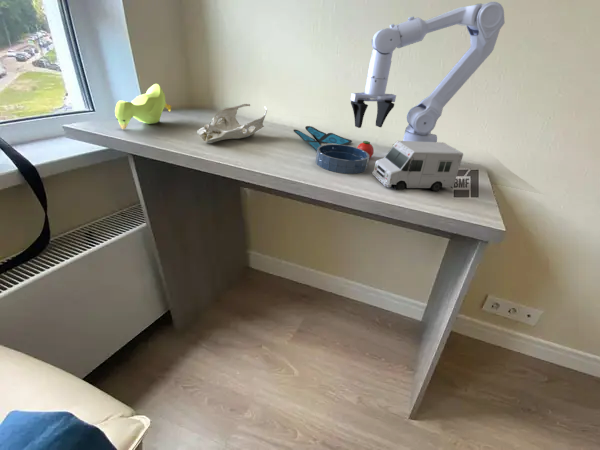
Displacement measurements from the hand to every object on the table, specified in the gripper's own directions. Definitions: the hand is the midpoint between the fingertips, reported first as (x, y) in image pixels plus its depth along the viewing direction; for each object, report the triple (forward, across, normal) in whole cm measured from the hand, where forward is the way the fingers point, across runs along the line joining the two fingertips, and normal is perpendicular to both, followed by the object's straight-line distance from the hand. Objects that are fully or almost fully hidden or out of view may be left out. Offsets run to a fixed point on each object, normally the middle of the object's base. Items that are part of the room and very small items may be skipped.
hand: (368, 126), depth 108 cm
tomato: (+9, -2, -3) cm, 10 cm away
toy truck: (+9, -2, -23) cm, 25 cm away
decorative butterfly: (+9, -9, +12) cm, 18 cm away
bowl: (+9, -12, -7) cm, 17 cm away
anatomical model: (+9, -33, +24) cm, 42 cm away
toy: (+9, -57, +42) cm, 71 cm away
